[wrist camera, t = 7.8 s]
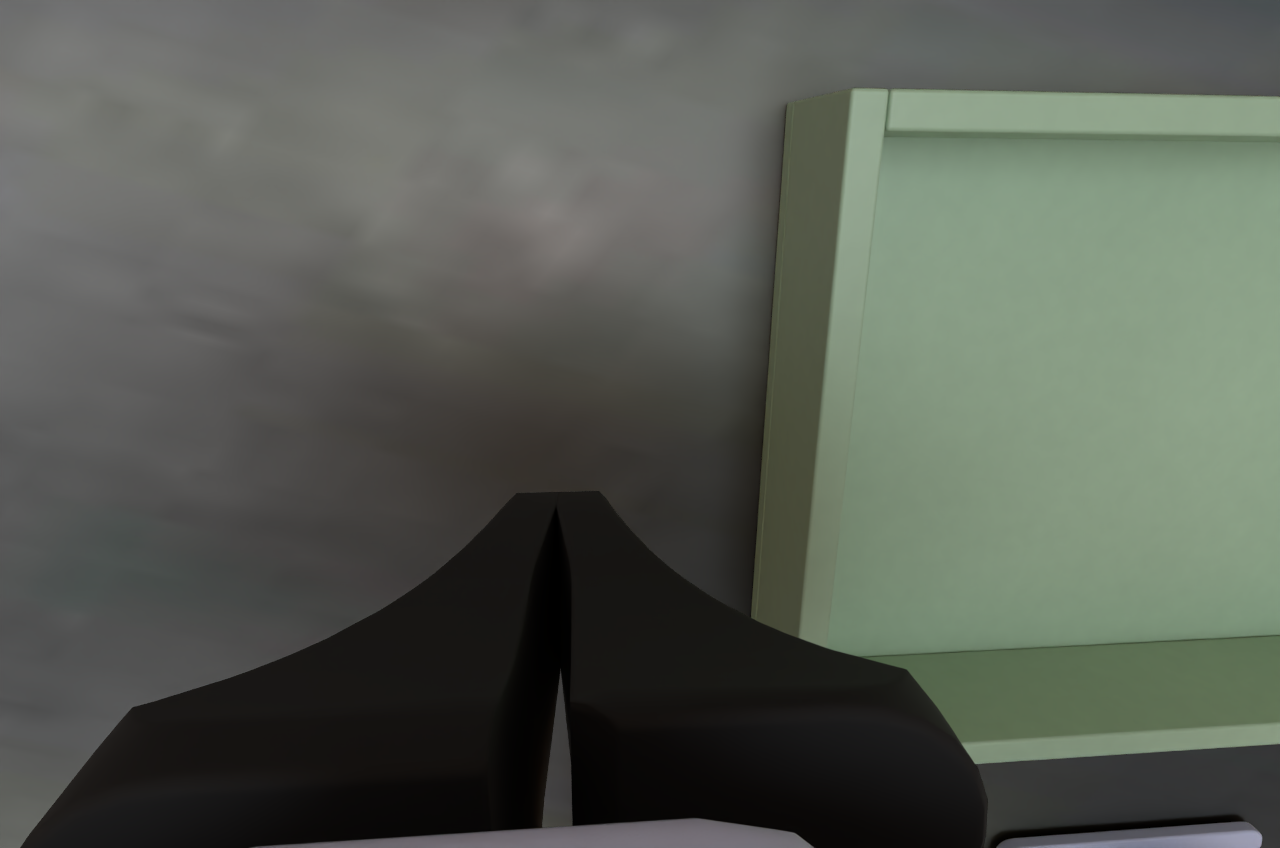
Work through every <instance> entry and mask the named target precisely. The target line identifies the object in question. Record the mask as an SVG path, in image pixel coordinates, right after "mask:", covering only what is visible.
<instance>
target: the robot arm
mask: <svg viewBox="0 0 1280 848" xmlns="http://www.w3.org/2000/svg"><path fill="white" fill-rule="evenodd" d="M560 669H561V675H562V684H563V693H564V703H565V712H566V721H567V730H568V739H569V748H570V758H571V774H572V817H573V826H564V827H549V828H542V820H543V807H544V796H545V788H546V781H547V773H548V765H549V757H550V749H551V741H552V733H553V725H554V717H555V709H556V701H557V693H558V685H559V677H560ZM987 807H988V799H987V796H986V793H985V789H984V786H983V783H982V779H981V776H980V773H979V770H978V768H977V766H976V765H975V763H974V762H973V760H972V759H971V757H970V756H969V754H968V753H967V751H966V750H965V748H964V747H963V745H962V744H961V742H960V741H959V739H958V738H957V736H956V734H955V733H954V731H953V730H952V728H951V727H950V725H949V724H948V722H947V721H946V719H945V718H944V716H943V715H942V714H941V712H940V711H939V709H938V708H937V706H936V705H935V704H934V703H933V701H932V700H931V699H930V698H929V696H928V695H927V694H926V693H925V691H924V690H923V689H922V688H921V686H920V685H919V684H918V683H917V681H916V680H915V679H914V678H913V676H912V675H911V674H910V673H909V671H908V670H907V669H904V668H900V667H896V666H892V665H888V664H884V663H881V662H877V661H873V660H869V659H865V658H862V657H858V656H854V655H850V654H846V653H842V652H839V651H835V650H831V649H828V648H825V647H822V646H820V645H817V644H814V643H811V642H808V641H806V640H803V639H800V638H797V637H795V636H792V635H789V634H786V633H784V632H782V631H779V630H777V629H775V628H772V627H770V626H767V625H765V624H763V623H761V622H758V621H756V620H755V619H753V618H751V617H749V616H747V615H745V614H743V613H741V612H739V611H737V610H735V609H733V608H731V607H729V606H727V605H725V604H723V603H722V602H720V601H718V600H716V599H715V598H713V597H711V596H710V595H708V594H707V593H705V592H704V591H702V590H701V589H699V588H698V587H696V586H695V585H693V584H692V583H690V582H689V581H687V580H686V579H684V578H683V577H681V576H680V575H679V574H677V573H676V572H675V571H673V570H672V569H671V568H670V567H669V566H667V565H666V564H665V563H664V562H663V561H662V560H660V559H659V558H658V557H657V556H656V555H655V554H654V553H653V552H651V551H650V550H649V549H648V548H647V546H646V545H645V544H644V543H643V542H642V541H641V540H640V539H639V538H638V537H637V536H636V535H635V534H634V533H633V532H632V531H631V530H630V528H629V527H628V526H627V525H626V524H625V523H624V521H623V520H622V519H621V518H620V517H619V515H618V514H617V513H616V512H615V510H614V509H613V508H612V506H611V505H610V503H609V502H608V501H607V499H606V498H605V497H604V496H603V495H602V494H601V493H600V492H599V491H582V492H543V493H516V494H515V495H514V496H513V497H512V498H511V499H510V500H509V501H508V502H507V503H506V504H505V506H504V507H503V508H502V509H501V510H500V511H499V512H498V513H497V514H496V516H495V517H494V518H493V519H492V520H491V521H490V522H489V523H488V524H487V525H486V526H485V527H484V528H483V529H482V530H481V531H480V532H479V533H478V534H477V535H476V536H475V537H474V538H473V539H472V540H471V541H470V542H469V543H468V544H467V545H466V546H465V547H464V548H463V549H462V550H461V551H460V552H459V553H458V554H456V555H455V556H454V557H453V558H452V559H451V560H449V561H448V562H447V563H446V564H445V565H444V566H442V567H441V568H440V569H439V570H438V571H437V572H435V573H434V574H433V575H432V576H430V577H429V578H428V579H426V580H425V581H424V582H422V583H421V584H419V585H418V586H417V587H415V588H414V589H412V590H411V591H409V592H408V593H406V594H405V595H403V596H402V597H400V598H399V599H397V600H396V601H394V602H393V603H391V604H390V605H388V606H386V607H385V608H383V609H381V610H380V611H378V612H376V613H374V614H372V615H370V616H369V617H367V618H365V619H363V620H361V621H359V622H357V623H355V624H353V625H352V626H350V627H348V628H346V629H344V630H342V631H340V632H338V633H337V634H335V635H333V636H331V637H329V638H327V639H325V640H323V641H321V642H319V643H316V644H314V645H312V646H309V647H307V648H305V649H303V650H300V651H298V652H296V653H294V654H291V655H289V656H286V657H284V658H281V659H279V660H276V661H274V662H271V663H269V664H266V665H264V666H261V667H259V668H256V669H254V670H251V671H248V672H245V673H242V674H240V675H237V676H234V677H231V678H228V679H225V680H222V681H219V682H215V683H212V684H209V685H206V686H203V687H199V688H196V689H193V690H190V691H187V692H183V693H180V694H177V695H174V696H171V697H167V698H164V699H161V700H158V701H154V702H151V703H147V704H143V705H140V706H136V707H133V708H132V709H131V710H130V711H129V712H128V713H127V714H126V715H125V717H124V718H123V719H122V720H121V721H120V722H119V723H118V725H117V726H116V727H115V728H114V729H113V731H112V732H111V733H110V734H109V735H108V737H107V738H106V739H105V740H104V741H103V743H102V744H101V745H100V746H99V747H98V749H97V750H96V751H95V752H94V753H93V755H92V756H91V757H90V759H89V760H88V761H87V762H86V764H85V765H84V766H83V767H82V769H81V770H80V771H79V772H78V774H77V775H76V776H75V778H74V779H73V780H72V781H71V783H70V784H69V785H68V786H67V788H66V789H65V790H64V791H63V793H62V794H61V795H60V796H59V798H58V799H57V800H56V802H55V803H54V804H53V805H52V807H51V808H50V809H49V810H48V812H47V813H46V814H45V815H44V817H43V818H42V819H41V821H40V822H39V823H38V824H37V826H36V827H35V828H34V829H33V831H32V832H31V833H30V834H29V836H28V837H27V839H26V840H25V842H24V843H23V845H22V846H21V848H983V846H984V841H985V837H986V826H987ZM1261 844H1262V835H1261V833H1260V832H1259V831H1258V830H1257V829H1256V828H1255V827H1254V826H1253V825H1252V824H1250V823H1248V822H1242V821H1239V822H1225V823H1211V824H1198V825H1184V826H1171V827H1157V828H1143V829H1130V830H1116V831H1103V832H1089V833H1075V834H1062V835H1048V836H1035V837H1021V838H1011V839H1006V840H1004V841H1003V842H1001V843H1000V844H999V845H998V846H997V847H996V848H1260V846H1261Z"/></svg>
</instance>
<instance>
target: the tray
mask: <svg viewBox="0 0 1280 848" xmlns="http://www.w3.org/2000/svg"><path fill="white" fill-rule="evenodd" d="M751 618H753V619H755V620H756V621H758V622H761V623H763V624H765V625H767V626H770V627H772V628H775V629H777V630H779V631H782V632H784V633H786V634H789V635H792V636H795V637H797V638H800V639H803V640H806V641H808V642H811V643H814V644H817V645H820V646H822V647H825V648H828V649H831V650H835V651H839V652H842V653H846V654H850V655H854V656H858V657H862V658H865V659H869V660H873V661H877V662H881V663H884V664H888V665H892V666H896V667H900V668H904V669H907V670H908V671H909V673H910V674H911V675H912V676H913V678H914V679H915V680H916V681H917V683H918V684H919V685H920V686H921V688H922V689H923V690H924V691H925V693H926V694H927V695H928V696H929V698H930V699H931V700H932V701H933V703H934V704H935V705H936V706H937V708H938V709H939V711H940V712H941V714H942V715H943V716H944V718H945V719H946V721H947V722H948V724H949V725H950V727H951V728H952V730H953V731H954V733H955V734H956V736H957V738H958V739H959V741H960V742H961V744H962V745H963V747H964V748H965V750H966V751H967V753H968V754H969V756H970V757H971V759H972V760H973V762H974V763H975V764H983V763H998V762H1013V761H1028V760H1044V759H1059V758H1074V757H1089V756H1104V755H1119V754H1134V753H1149V752H1165V751H1180V750H1195V749H1210V748H1225V747H1240V746H1255V745H1270V744H1280V96H1245V95H1195V94H1145V93H1095V92H1044V91H994V90H944V89H889V90H887V89H885V88H851V89H847V90H842V91H838V92H834V93H829V94H825V95H821V96H816V97H812V98H808V99H803V100H799V101H794V102H790V103H788V105H787V111H786V125H785V140H784V154H783V168H782V182H781V196H780V211H779V225H778V239H777V253H776V268H775V282H774V296H773V310H772V324H771V339H770V353H769V367H768V381H767V396H766V410H765V424H764V438H763V452H762V467H761V481H760V495H759V509H758V523H757V538H756V552H755V566H754V580H753V595H752V609H751Z"/></svg>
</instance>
